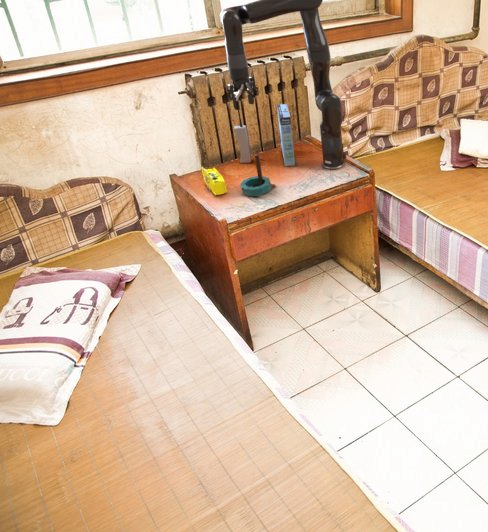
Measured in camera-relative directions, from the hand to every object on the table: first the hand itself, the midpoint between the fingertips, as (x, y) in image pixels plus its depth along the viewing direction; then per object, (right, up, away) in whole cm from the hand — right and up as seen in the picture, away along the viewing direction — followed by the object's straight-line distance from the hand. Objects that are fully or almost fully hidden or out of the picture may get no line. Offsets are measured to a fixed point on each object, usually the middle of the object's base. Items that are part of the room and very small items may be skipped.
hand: (244, 106), depth 221 cm
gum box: (+11, -14, +38) cm, 42 cm away
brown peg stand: (+5, -32, +10) cm, 34 cm away
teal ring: (+3, -32, +7) cm, 33 cm away
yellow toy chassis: (-15, -32, +11) cm, 37 cm away
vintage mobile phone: (-8, -16, +35) cm, 40 cm away
